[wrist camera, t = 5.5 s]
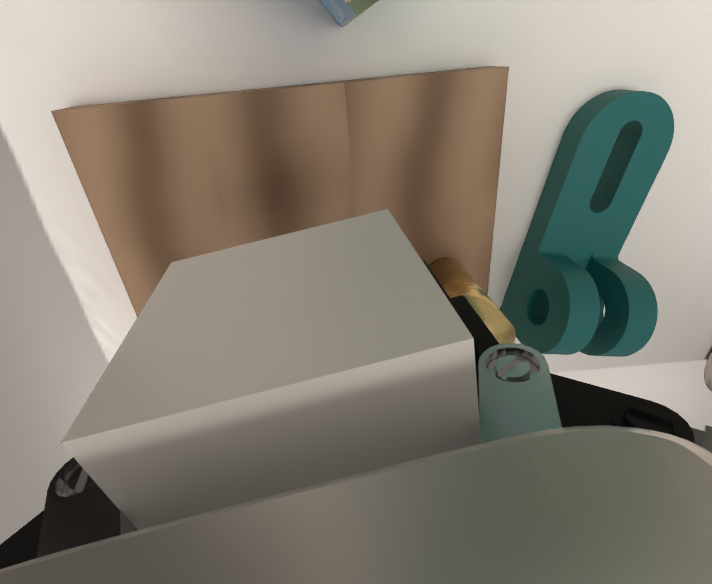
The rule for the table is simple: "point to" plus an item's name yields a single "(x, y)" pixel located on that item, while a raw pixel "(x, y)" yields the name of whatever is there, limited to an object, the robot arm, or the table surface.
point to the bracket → (591, 232)
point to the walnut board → (293, 167)
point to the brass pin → (472, 297)
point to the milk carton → (346, 9)
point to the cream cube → (279, 374)
